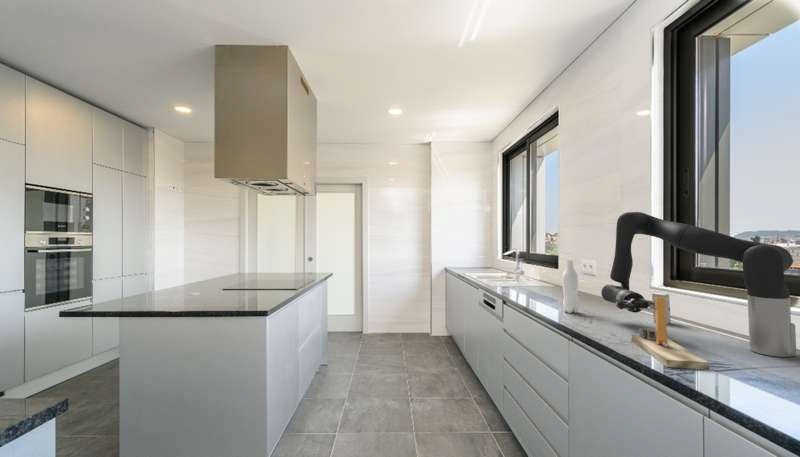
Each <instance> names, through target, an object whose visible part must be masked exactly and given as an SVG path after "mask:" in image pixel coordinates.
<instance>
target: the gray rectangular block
mask: <svg viewBox="0 0 800 457" xmlns="http://www.w3.org/2000/svg"><path fill="white" fill-rule="evenodd" d="M654 329H656V327H654V328H649V327H639V336H640V337H641V338H643V339H647V330H654ZM650 337H654V338H656V332H650ZM653 340H655V339H653Z"/></svg>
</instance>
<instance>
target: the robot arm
mask: <svg viewBox="0 0 800 457" xmlns="http://www.w3.org/2000/svg"><path fill="white" fill-rule="evenodd" d="M615 230H616V232H615V233H616V234H615V250H614V256H613V257H614V259H613V262H612V267H611V272H610V276H609V277H610V279H611V280H612V281H614V282H616V283H618V284H620V285H612V284H606V285H604V286H603V287H602V289H601V292H600V294H601V297H602V299H603V300H605V301H607V302H609V303H612V304H615V307H617V309H619V310H627V311H628V312H631V313H639V312H641V311H653V310H655V300H654V302H653V300H651V299H645V297H644V296H643V295H642V294H641V293H639V292H636V291H633V290H630V278H631V273H632V269H633V265H634V264H633V262H634V260H633V255H632V254H633V253H632V243H633V239H634V238H635V235H645V236H650V237H655V238H657V239H661V240H662V241H665V243H668V244H669V245H671V246H673V247H675V248H676V249H677V248H678V249H681V250H684V251H687V252H690V253H693V254H698V255H704V256H707V257H715V258H721V259H722V258H723V259H726V260H727V259H728V260H732V261H736V262H739V263H742V273H743V274H742V275H743V283H744V287H745V288H746V292H747V313H748V314H747V316H748V338H749V340H748V341H749V343H748V344H749V350H750V351H752V352H754V353H758V354H761V355H764V356H771V357H779V358H790V357H797V338H796V336H797V334H796V333H797V332H796V324H795V323H793V322H792V318H791V317H792V315H791V313H792V312H791V294H790V289H789V287H787V284H786V280H785V272H786V271H787V270H788V269H790V268H791V267H792V265H793V262H794V260H793V255H792V254H791V253H790V252H789V251H788V249H785V248H784V247H782V246H779V245H777V244H769V243H762V242H755V241H751V240H746V239H740V238H736V237H733V236H730V235H728V234H724V233H720V232H718V231H714V230H712V229H711V230H710V229H707V228H704V227H700V226H696V225H691V224H688V223H687V224H686V223H683V222H682V223H681V222H676V221H672V220H671V221H670V220H665V219H662V218H658V217H655V216H653V215H650V214H647V213H644V212H640V211H628V212H623V213H622V214H620V215H619V216H618V219H617V221H616V229H615Z"/></svg>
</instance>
